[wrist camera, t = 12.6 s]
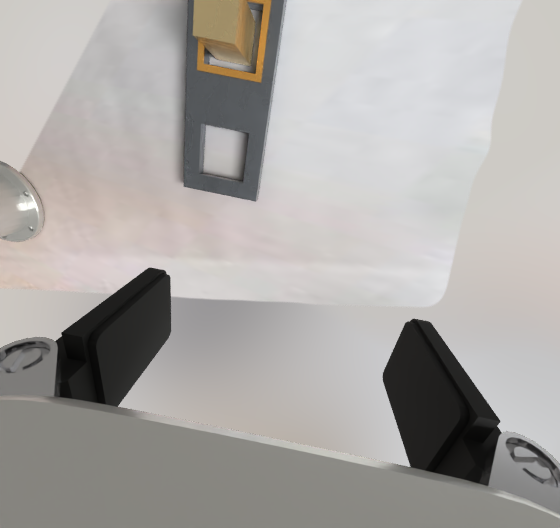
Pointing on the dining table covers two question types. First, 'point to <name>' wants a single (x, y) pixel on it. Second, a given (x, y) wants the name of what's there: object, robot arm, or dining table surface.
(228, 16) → the brass plug
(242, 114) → the socket plate
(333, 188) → the dining table surface
